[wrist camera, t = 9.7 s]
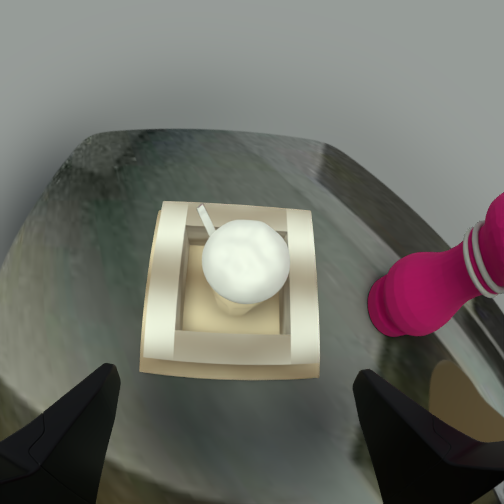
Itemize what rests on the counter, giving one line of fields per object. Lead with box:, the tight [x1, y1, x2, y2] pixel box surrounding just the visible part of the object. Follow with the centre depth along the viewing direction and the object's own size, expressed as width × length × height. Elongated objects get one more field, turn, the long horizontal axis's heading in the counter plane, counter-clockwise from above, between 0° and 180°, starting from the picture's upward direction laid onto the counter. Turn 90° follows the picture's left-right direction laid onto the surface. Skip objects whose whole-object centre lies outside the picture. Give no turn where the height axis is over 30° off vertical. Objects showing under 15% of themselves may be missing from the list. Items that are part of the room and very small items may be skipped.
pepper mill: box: [368, 193, 504, 337], centre depth 15 cm, size 7×7×20 cm
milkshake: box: [197, 203, 290, 316], centre depth 17 cm, size 4×5×10 cm
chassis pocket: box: [139, 201, 320, 380], centre depth 21 cm, size 14×14×5 cm
